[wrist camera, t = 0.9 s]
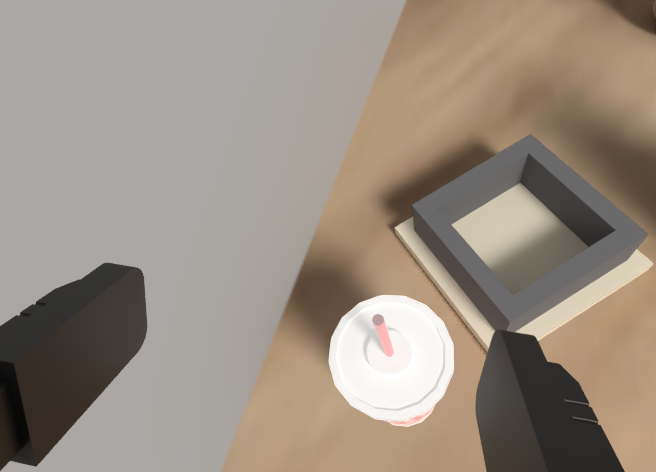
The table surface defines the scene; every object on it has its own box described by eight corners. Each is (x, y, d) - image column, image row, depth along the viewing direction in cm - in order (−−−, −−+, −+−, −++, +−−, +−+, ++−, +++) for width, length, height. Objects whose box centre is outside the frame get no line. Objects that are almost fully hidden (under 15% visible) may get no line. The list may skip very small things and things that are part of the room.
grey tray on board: (522, 157, 36) (532, 118, 33) (647, 270, 30) (678, 238, 26) (395, 233, 35) (390, 202, 32) (498, 366, 29) (507, 347, 25)
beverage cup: (458, 355, 30) (471, 265, 18) (439, 453, 28) (441, 423, 16) (369, 333, 32) (328, 238, 20) (344, 423, 30) (281, 375, 18)
